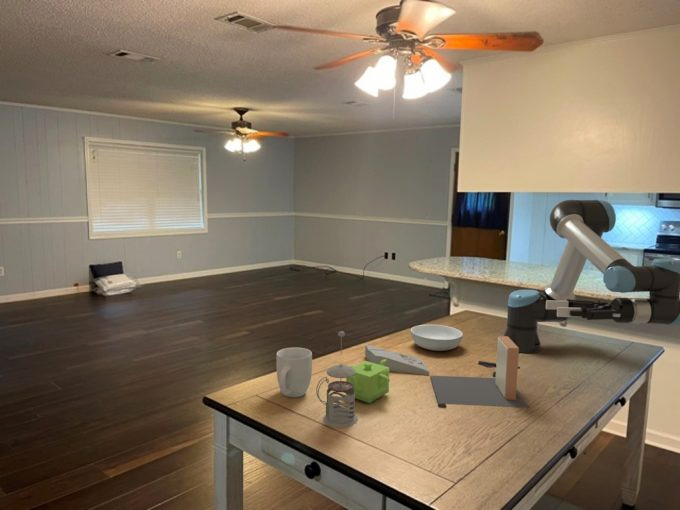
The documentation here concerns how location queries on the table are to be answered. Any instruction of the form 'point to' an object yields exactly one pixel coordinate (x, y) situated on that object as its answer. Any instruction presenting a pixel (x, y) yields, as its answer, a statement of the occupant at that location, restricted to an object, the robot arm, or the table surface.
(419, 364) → the ramp
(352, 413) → the french press
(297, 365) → the mug
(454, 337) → the serving bowl
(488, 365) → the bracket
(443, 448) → the table surface
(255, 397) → the table surface
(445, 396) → the mat
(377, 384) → the teapot
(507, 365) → the tile
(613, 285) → the robot arm
